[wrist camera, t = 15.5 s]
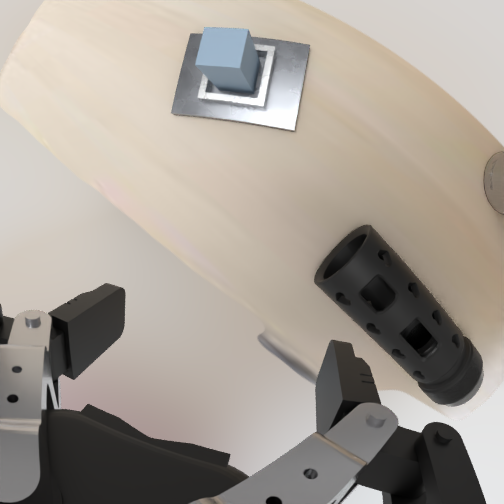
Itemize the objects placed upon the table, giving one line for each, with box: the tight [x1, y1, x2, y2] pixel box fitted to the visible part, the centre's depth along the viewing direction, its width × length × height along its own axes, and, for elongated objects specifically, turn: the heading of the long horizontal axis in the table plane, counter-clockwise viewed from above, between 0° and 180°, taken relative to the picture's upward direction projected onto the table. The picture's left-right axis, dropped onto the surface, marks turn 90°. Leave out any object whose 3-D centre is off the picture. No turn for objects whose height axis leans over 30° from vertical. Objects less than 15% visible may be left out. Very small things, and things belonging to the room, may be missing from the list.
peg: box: [195, 27, 260, 94], centre depth 31 cm, size 4×4×10 cm
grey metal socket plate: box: [171, 34, 310, 132], centre depth 35 cm, size 16×12×3 cm
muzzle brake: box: [314, 225, 484, 407], centre depth 36 cm, size 10×28×10 cm, turn 48°
